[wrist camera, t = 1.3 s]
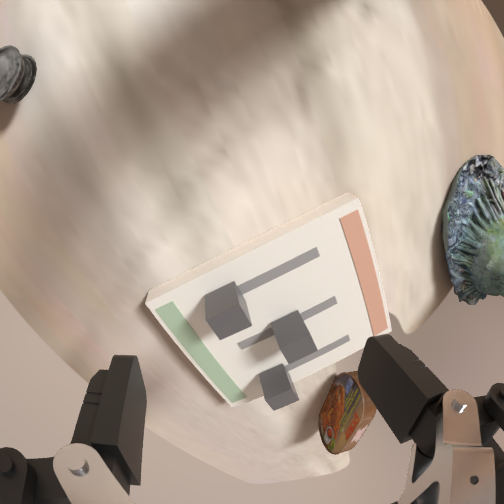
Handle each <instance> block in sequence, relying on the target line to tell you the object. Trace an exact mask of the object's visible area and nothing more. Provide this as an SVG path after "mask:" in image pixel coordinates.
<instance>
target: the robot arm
mask: <svg viewBox="0 0 504 504" xmlns="http://www.w3.org/2000/svg"><path fill="white" fill-rule="evenodd" d="M358 379H359V382H360V384H361V385H362V387H363V388H364V390H365V391H366V393H367V394H368V396H369V397H370V399H371V400H372V402H373V403H374V405H375V406H376V408H377V409H378V411H379V412H380V414H381V415H382V417H383V418H384V419H385V421H386V422H387V424H388V425H389V427H390V428H391V430H392V431H393V433H394V434H395V436H396V437H397V439H398V440H399V442H400V443H401V444H402V443H404V442H406V441H408V440H411V439H413V441H414V444H413V446H412V449H411V455H410V462H409V468H408V474H407V480H406V486H405V489H404V491H403V493H402V495H401V497H400V498H399V500H398V502H394V503H392V504H504V452H503V451H502V449H501V448H500V447H499V445H498V444H497V443H496V442H495V440H494V439H493V435H494V434H495V433H496V432H497V431H498V429H499V428H500V427H501V428H502V430H503V431H504V384H503V383H496V384H494V385H493V386H492V387H491V389H490V390H489V392H488V393H487V395H486V396H480V397H473V396H472V395H470V394H469V393H468V392H466V391H463V390H460V389H452V390H448V389H447V388H446V386H445V385H444V384H443V383H442V382H441V381H440V380H439V379H438V378H437V377H436V376H435V375H434V374H433V373H432V372H431V371H430V370H429V368H428V367H425V364H424V363H423V362H422V361H419V358H418V357H417V356H416V355H415V354H414V353H413V352H412V351H411V350H409V349H408V348H406V347H404V346H402V345H401V344H398V343H397V342H396V341H395V340H394V339H393V338H392V336H390V335H389V334H382V335H377V336H372V337H369V338H368V339H367V341H366V344H365V347H364V351H363V354H362V357H361V361H360V364H359V367H358ZM83 402H84V403H83V404H82V407H81V410H80V414H79V417H78V421H77V424H76V427H75V431H74V435H73V438H72V441H71V443H70V444H69V445H66V446H64V447H63V448H61V449H60V450H59V451H58V452H57V453H56V455H55V457H50V458H38V459H26V458H25V457H24V456H23V455H22V454H21V453H20V452H19V451H18V450H16V449H14V448H8V447H5V448H1V449H0V504H135V503H134V501H133V500H132V499H131V498H130V497H129V492H130V485H140V483H141V482H140V481H141V462H142V448H143V435H144V424H145V414H146V403H147V402H146V390H145V386H144V382H143V378H142V374H141V370H140V366H139V362H138V358H137V356H134V355H114V356H113V358H112V361H111V364H110V367H109V370H99V371H98V372H97V373H96V374H95V375H94V376H93V377H92V379H91V380H90V383H89V385H88V388H87V394H86V395H85V398H84V401H83Z"/></svg>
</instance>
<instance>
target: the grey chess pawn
mask: <svg viewBox="0 0 504 504" xmlns="http://www.w3.org/2000/svg"><path fill="white" fill-rule="evenodd" d="M36 70H37V68H36V62H35V60H34V59H33V58H32V57H31V56H29V55H21V54H20V52H19V50H18V49H17V48H16V47H14V46H4V47H2V48H0V101H2V100H4V101H5V102H7V103H14V102H17V101H19V100H21V99H22V98H23V97H24V96H25V95H26V94H27V93H28V91H29V90H30V89H31V87H32V85H33V83H34V80H35V77H36Z"/></svg>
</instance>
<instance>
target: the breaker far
mask: <svg viewBox="0 0 504 504" xmlns="http://www.w3.org/2000/svg"><path fill="white" fill-rule="evenodd" d="M259 378H260V382H261V386H262V390H263V394H264V397H265V401H266V402H267V403H268V404H269V405H270V407H271V408H272V409H273V410H277V409H279V408H282V407H284V406H287V405H289V404H291V403H294V402H296V401H298V400H299V398H298V395H297V393H296V390H295V387H294V384H293V382H292V379H291V376H290V374H289V373H288V371H287V369H286V368H285V366H284V364H280V365H278V366H276V367H274V368H272V369H269V370H267V371H265V372H262V373H260V374H259Z"/></svg>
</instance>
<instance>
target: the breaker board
mask: <svg viewBox="0 0 504 504" xmlns="http://www.w3.org/2000/svg"><path fill="white" fill-rule="evenodd" d="M233 281H235V283H236V285H237V286H238V288H239V290H240V292H241V293H242V295H243V297H244V299H245V300H246V304H247V307H248V311H249V315H250V319H251V323H252V326H251V327H249V328H247V329H244V330H242V331H240V332H238V333H236V334H233V335H231V336H229V337H227V338H224V339H222V340H219V338H218V337H217V336H216V334H215V333H214V331H213V330H212V329H211V327H210V326H209V324H208V323H207V321H206V317H205V295H206V294H208V293H210V292H212V291H214V290H216V289H218V288H221V287H223V286H225V285H227V284H229V283H231V282H233ZM145 304H146V305H147V307H148V308H149V309H150V311H151V312H152V313H153V315H154V316H155V317H156V319H157V320H158V321H159V323H160V324H161V325H162V327H163V328H164V329H165V330H166V332H167V333H168V334H169V335H170V337H171V338H172V339H173V340H174V342H175V343H176V344H177V345H178V347H179V348H180V349H181V350H182V352H183V353H184V354H185V355H186V356H187V358H188V359H189V360H190V361H191V362H192V364H193V365H194V366H195V367H196V368H197V369H198V371H199V372H200V373H201V374H202V375H203V376H204V377H205V379H206V380H207V381H208V382H209V383H210V384H211V385H212V386H213V387H214V389H215V390H216V391H217V392H218V393H219V394H220V395H221V396H222V397H223V398H224V399H225V400H226V402H227V403H228V404H229V405H230V406H231V407H232V408H233V407H236V406H238V405H241V404H244V403H246V402H249V401H251V400H254V399H257V398H259V397H262V396H264V394H263V390H262V386H261V382H260V378H259V374H260V373H262V372H265V371H267V370H269V369H272V368H274V367H276V366H278V365H280V364H284V366H285V368H286V369H287V371H288V373H289V374H290V376H291V379H292V382H293V383H294V382H296V381H299V380H301V379H303V378H305V377H307V376H309V375H311V374H314V373H316V372H318V371H320V370H322V369H324V368H326V367H328V366H330V365H332V364H334V363H336V362H338V361H339V360H341V359H343V358H345V357H347V356H349V355H351V354H353V353H354V352H356V351H358V350H360V349H362V348H363V347H365V344H366V341H367V339H368V338H369V337H372V336H377V335H382V334H388V333H389V332H391V331H392V330H391V324H390V318H389V313H388V308H387V303H386V298H385V293H384V289H383V284H382V280H381V276H380V271H379V267H378V263H377V259H376V255H375V251H374V248H373V244H372V240H371V236H370V233H369V229H368V226H367V222H366V219H365V216H364V212H363V209H362V206H361V203H360V199H359V197H357V196H354V195H352V194H350V193H348V192H346V193H344V194H342V195H340V196H338V197H336V198H334V199H332V200H330V201H328V202H326V203H324V204H322V205H320V206H318V207H315V208H313V209H311V210H309V211H307V212H305V213H303V214H301V215H299V216H297V217H295V218H293V219H291V220H289V221H287V222H285V223H283V224H281V225H279V226H277V227H275V228H273V229H271V230H269V231H267V232H264V233H262V234H260V235H258V236H256V237H254V238H252V239H250V240H248V241H246V242H244V243H242V244H240V245H238V246H236V247H234V248H232V249H230V250H228V251H226V252H224V253H222V254H220V255H218V256H216V257H214V258H212V259H210V260H208V261H206V262H204V263H202V264H200V265H198V266H196V267H194V268H192V269H190V270H188V271H186V272H184V273H182V274H180V275H178V276H176V277H174V278H173V279H171V280H169V281H167V282H165V283H163V284H161V285H159V286H157V287H155V288H153V289H151V290H149V292H148V295H147V299H146V302H145ZM296 310H298V311H299V313H300V315H301V317H302V319H303V321H304V323H305V325H306V326H307V328H308V330H309V332H310V334H311V336H312V339H313V341H314V343H315V345H316V347H317V349H318V351H316V352H314V353H312V354H310V355H308V356H306V357H304V358H302V359H300V360H297V361H295V362H293V363H291V364H288V362H287V360H286V359H285V357H284V355H283V354H282V352H281V350H280V348H279V346H278V343H277V340H276V337H275V334H274V332H273V329H272V326H271V323H272V322H274V321H276V320H278V319H280V318H282V317H284V316H286V315H288V314H290V313H292V312H294V311H296Z"/></svg>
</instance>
